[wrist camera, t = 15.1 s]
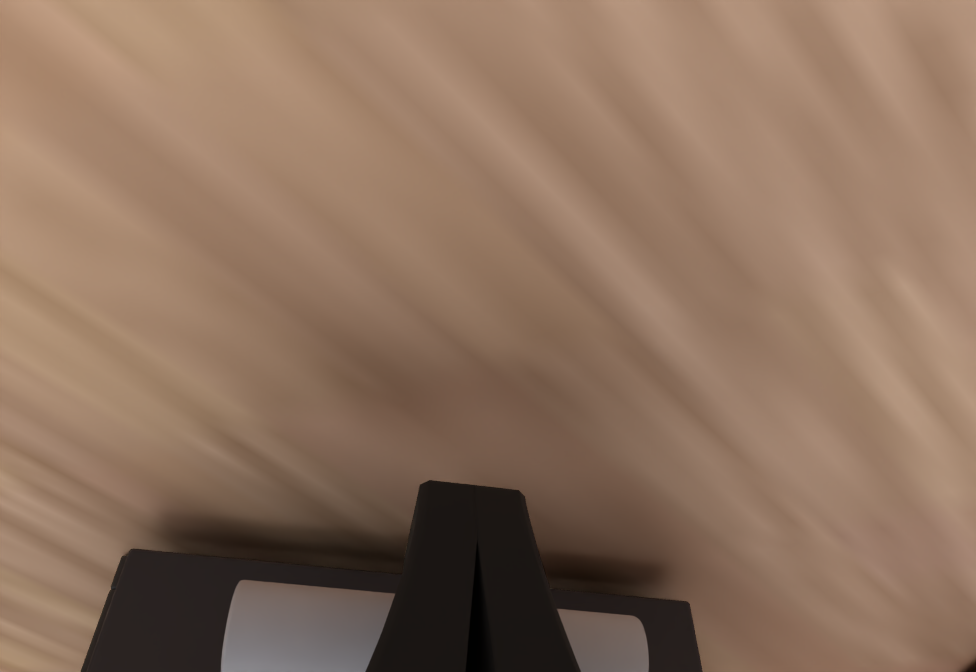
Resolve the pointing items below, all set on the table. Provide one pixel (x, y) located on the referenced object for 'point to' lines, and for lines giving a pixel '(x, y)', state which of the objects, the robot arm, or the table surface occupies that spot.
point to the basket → (334, 620)
